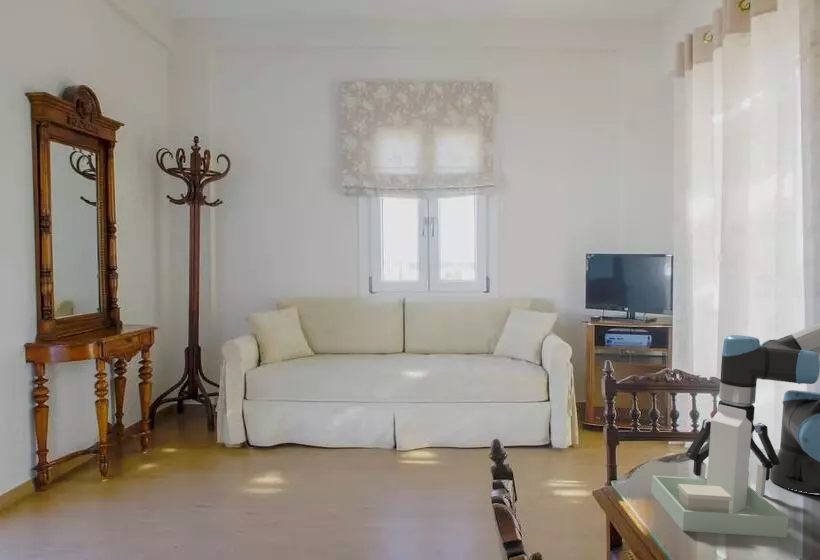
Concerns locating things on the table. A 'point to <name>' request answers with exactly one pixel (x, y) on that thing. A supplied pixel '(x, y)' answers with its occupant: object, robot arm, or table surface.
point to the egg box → (704, 498)
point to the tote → (749, 521)
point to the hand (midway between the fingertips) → (729, 491)
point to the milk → (730, 454)
